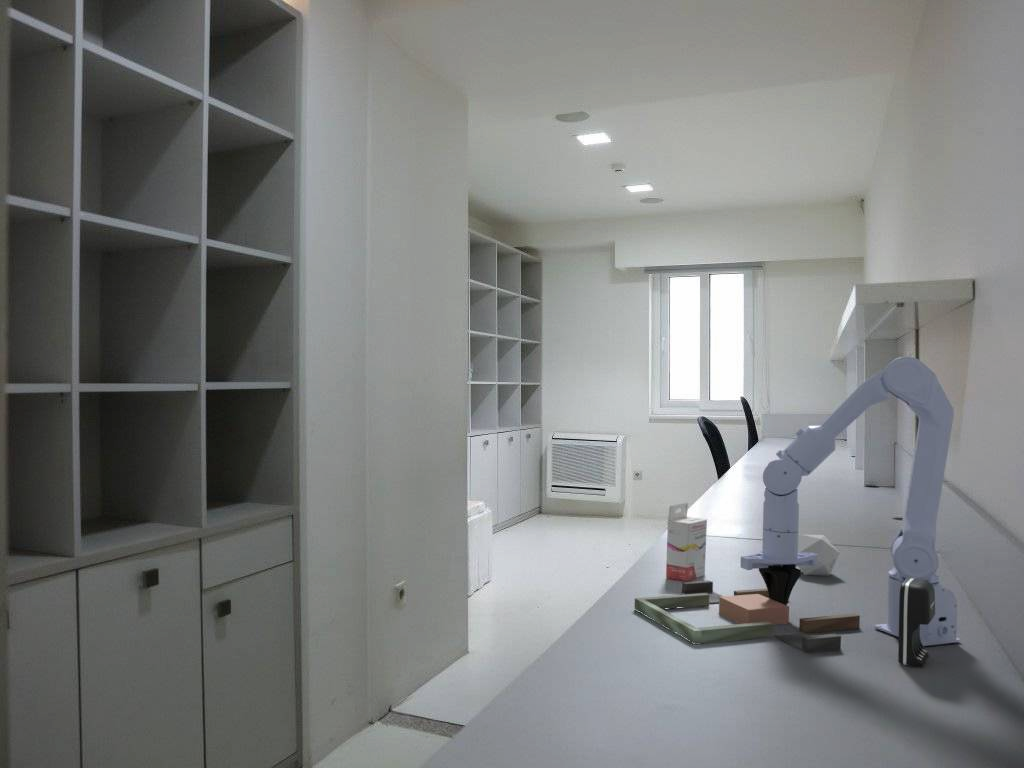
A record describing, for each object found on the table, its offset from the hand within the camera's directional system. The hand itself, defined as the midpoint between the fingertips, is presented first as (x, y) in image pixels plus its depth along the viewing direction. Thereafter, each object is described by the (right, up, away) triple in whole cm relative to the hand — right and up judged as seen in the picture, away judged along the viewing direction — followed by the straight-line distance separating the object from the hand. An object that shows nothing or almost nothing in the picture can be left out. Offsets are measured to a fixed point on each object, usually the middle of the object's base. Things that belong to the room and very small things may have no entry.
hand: (778, 609), depth 129 cm
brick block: (-5, -1, -2) cm, 5 cm away
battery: (+12, -1, -21) cm, 24 cm away
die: (+19, -2, +32) cm, 37 cm away
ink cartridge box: (-10, -1, +26) cm, 28 cm away
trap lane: (-7, -1, -2) cm, 7 cm away
